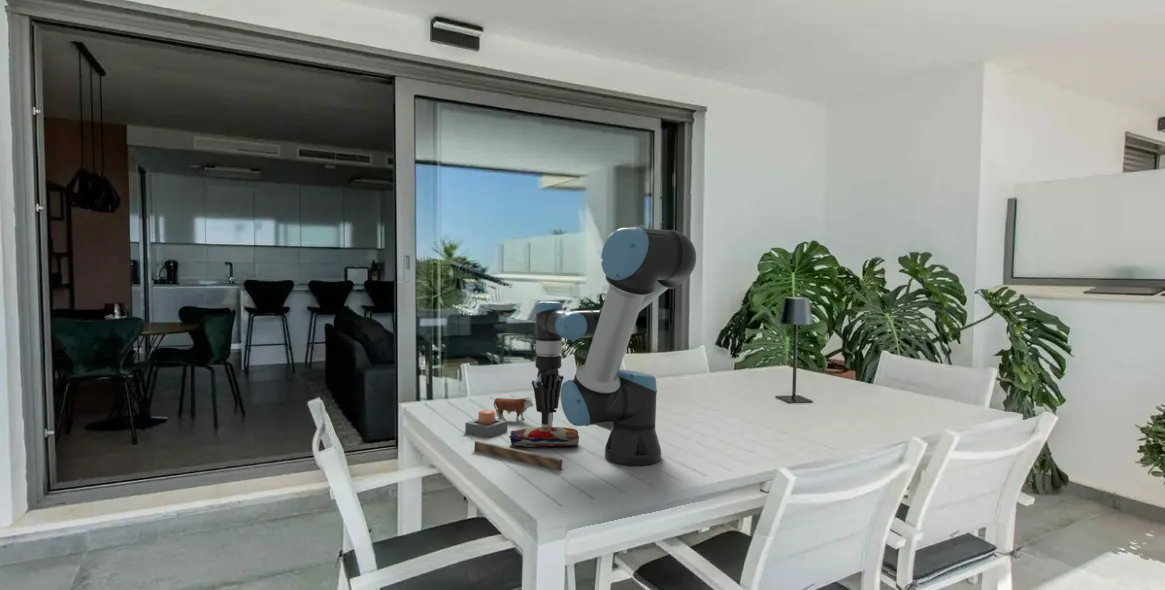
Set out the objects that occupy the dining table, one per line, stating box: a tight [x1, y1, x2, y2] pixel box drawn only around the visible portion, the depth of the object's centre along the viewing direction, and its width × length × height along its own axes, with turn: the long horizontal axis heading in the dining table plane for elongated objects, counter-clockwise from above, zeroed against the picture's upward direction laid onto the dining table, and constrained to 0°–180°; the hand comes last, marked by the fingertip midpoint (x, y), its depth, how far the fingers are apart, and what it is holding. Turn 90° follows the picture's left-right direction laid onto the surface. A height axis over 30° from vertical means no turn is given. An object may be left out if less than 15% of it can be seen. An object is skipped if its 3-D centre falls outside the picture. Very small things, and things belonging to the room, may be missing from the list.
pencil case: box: [508, 426, 580, 448], centre depth 175 cm, size 11×20×5 cm, turn 81°
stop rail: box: [474, 440, 563, 471], centre depth 162 cm, size 28×1×2 cm, turn 58°
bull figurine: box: [493, 396, 535, 422], centre depth 203 cm, size 4×13×8 cm, turn 81°
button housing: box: [464, 418, 509, 438], centre depth 188 cm, size 9×9×3 cm
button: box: [477, 409, 496, 425], centre depth 188 cm, size 5×5×4 cm
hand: (546, 434), depth 181 cm, fingers closed
